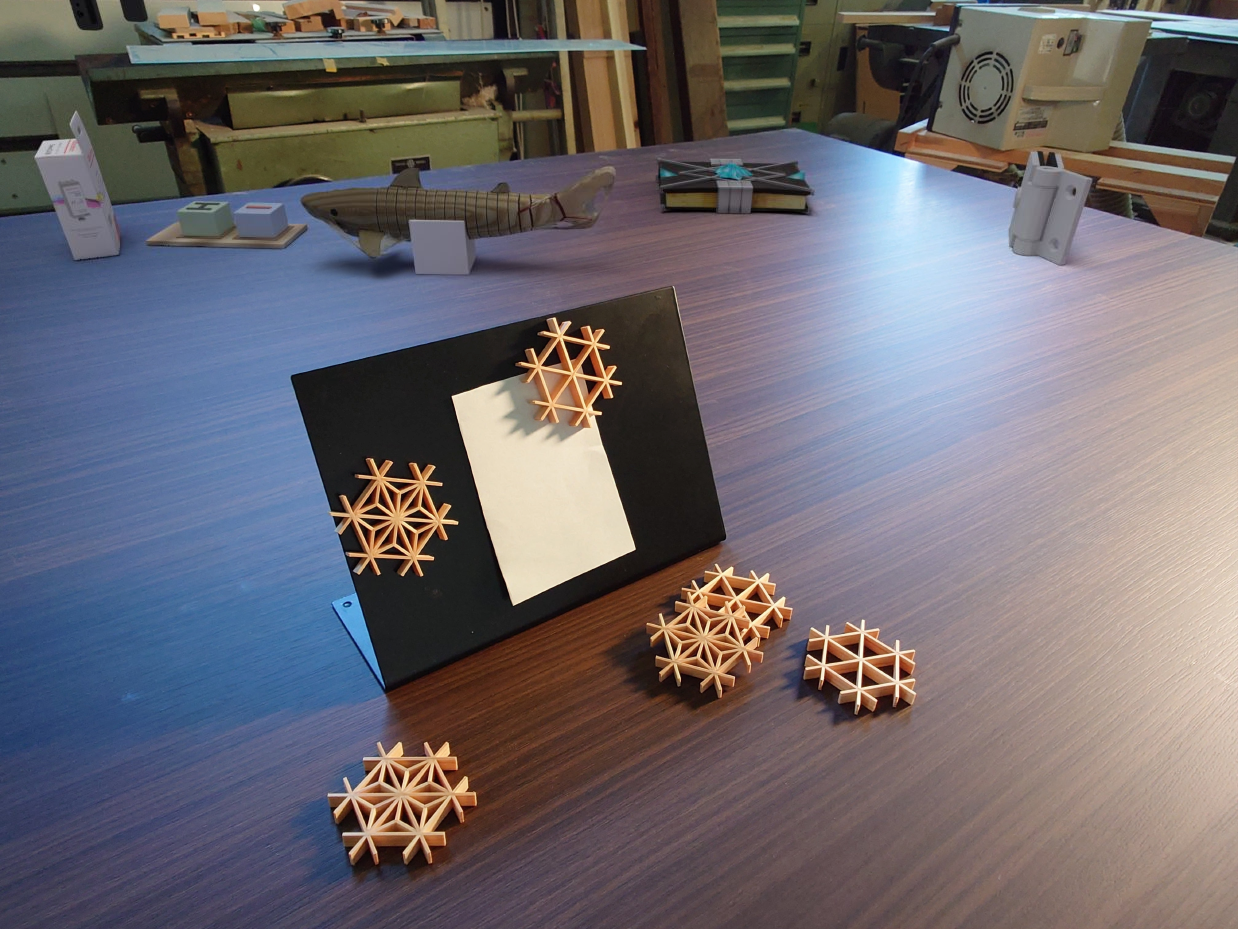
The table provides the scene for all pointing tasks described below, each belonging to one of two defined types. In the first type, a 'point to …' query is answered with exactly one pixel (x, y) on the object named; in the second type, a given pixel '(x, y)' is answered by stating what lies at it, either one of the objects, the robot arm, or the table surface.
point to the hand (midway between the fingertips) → (115, 25)
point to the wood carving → (451, 216)
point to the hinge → (1047, 208)
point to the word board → (225, 238)
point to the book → (732, 186)
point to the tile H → (205, 218)
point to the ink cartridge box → (79, 194)
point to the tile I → (261, 220)
